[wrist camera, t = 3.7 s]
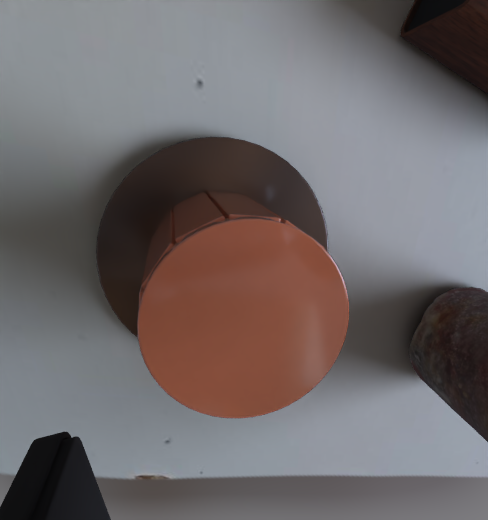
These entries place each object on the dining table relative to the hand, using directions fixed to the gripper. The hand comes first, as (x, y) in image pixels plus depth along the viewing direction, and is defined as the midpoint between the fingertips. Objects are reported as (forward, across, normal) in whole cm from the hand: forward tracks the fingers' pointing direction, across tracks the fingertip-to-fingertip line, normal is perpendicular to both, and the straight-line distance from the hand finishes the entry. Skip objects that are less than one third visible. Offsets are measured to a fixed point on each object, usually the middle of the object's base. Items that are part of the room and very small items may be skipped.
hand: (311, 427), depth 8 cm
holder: (+16, +1, 0) cm, 16 cm away
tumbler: (+14, +1, 0) cm, 15 cm away
